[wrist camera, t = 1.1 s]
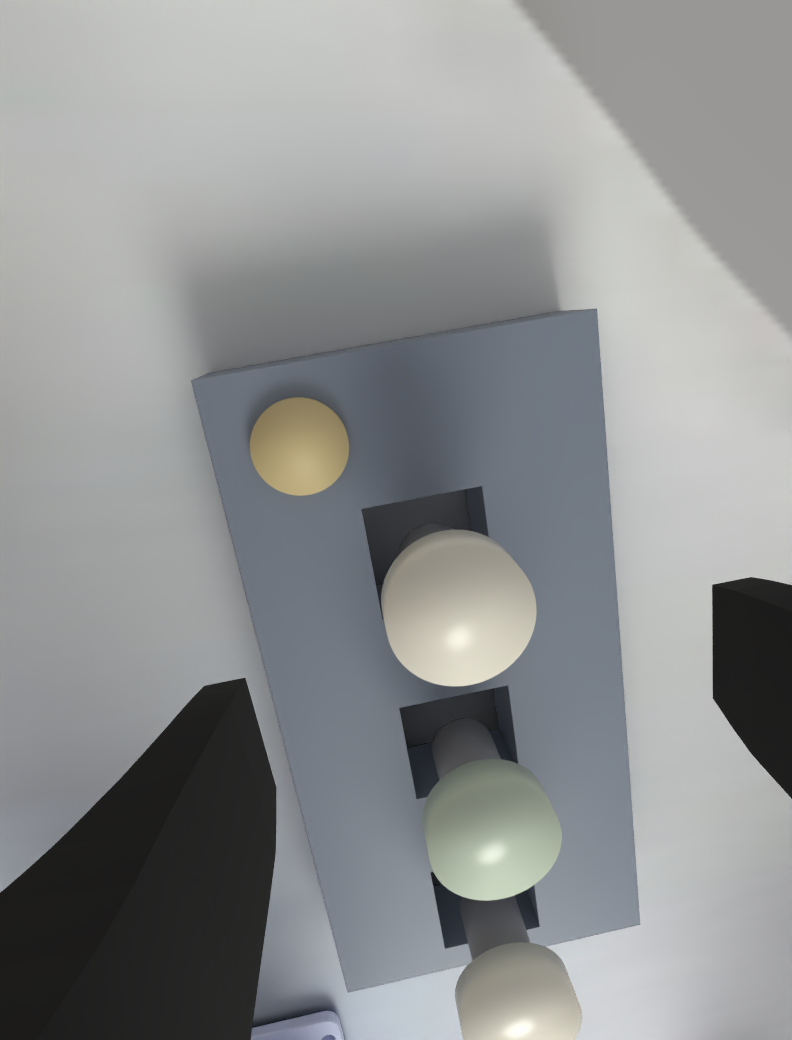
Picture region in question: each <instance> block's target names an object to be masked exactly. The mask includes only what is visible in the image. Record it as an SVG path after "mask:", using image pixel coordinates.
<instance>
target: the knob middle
mask: <svg viewBox="0 0 792 1040" xmlns="http://www.w3.org/2000/svg"><path fill="white" fill-rule="evenodd" d="M432 754H433V757H434V761H435V765H436V769H437V773H438V777H439V782H438V783H437V784H436V785H435V786H434V787H433V789H432V790H431V792H430V793H429V795H428V797H427V799H426V802H425V804H424V808H423V813H422V824H423V830H424V835H425V840H426V845H427V850H428V855H429V860H430V864H431V867H432V870H433V872H434V874H435V876H436V877H437V879H438V880H439V881H440V882H441V883H442V884H443V886H445V887H446V888H447V889H448V890H450V891H452V892H453V893H455V894H457V895H460V896H462V897H465V898H469V899H474V900H484V901H489V900H498V899H504V898H508V897H511V896H514V895H517V894H519V893H521V892H523V891H525V890H527V889H529V888H530V887H532V886H533V885H535V884H536V883H537V882H539V881H540V880H541V879H542V878H543V877H544V876H545V875H546V874H547V873H548V871H549V870H550V869H551V868H552V866H553V864H554V863H555V861H556V859H557V857H558V854H559V851H560V848H561V842H562V831H561V826H560V823H559V820H558V817H557V815H556V813H555V811H554V809H553V807H552V805H551V803H550V801H549V799H548V797H547V795H546V792H545V790H544V788H543V786H542V785H541V783H540V781H539V780H538V779H537V777H536V776H535V775H534V774H533V773H532V772H531V771H530V770H528V769H527V768H525V767H523V766H521V765H519V764H517V763H514V762H511V761H508V760H502V759H501V758H500V755H499V753H498V750H497V748H496V746H495V743H494V741H493V738H492V736H491V734H490V732H489V730H488V729H487V727H486V726H485V725H483V724H482V723H480V722H478V721H476V720H473V719H457V720H454V721H451V722H449V723H447V724H446V725H444V726H443V727H442V728H441V729H440V730H439V731H438V732H437V733H436V735H435V737H434V739H433V742H432Z"/></svg>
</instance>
